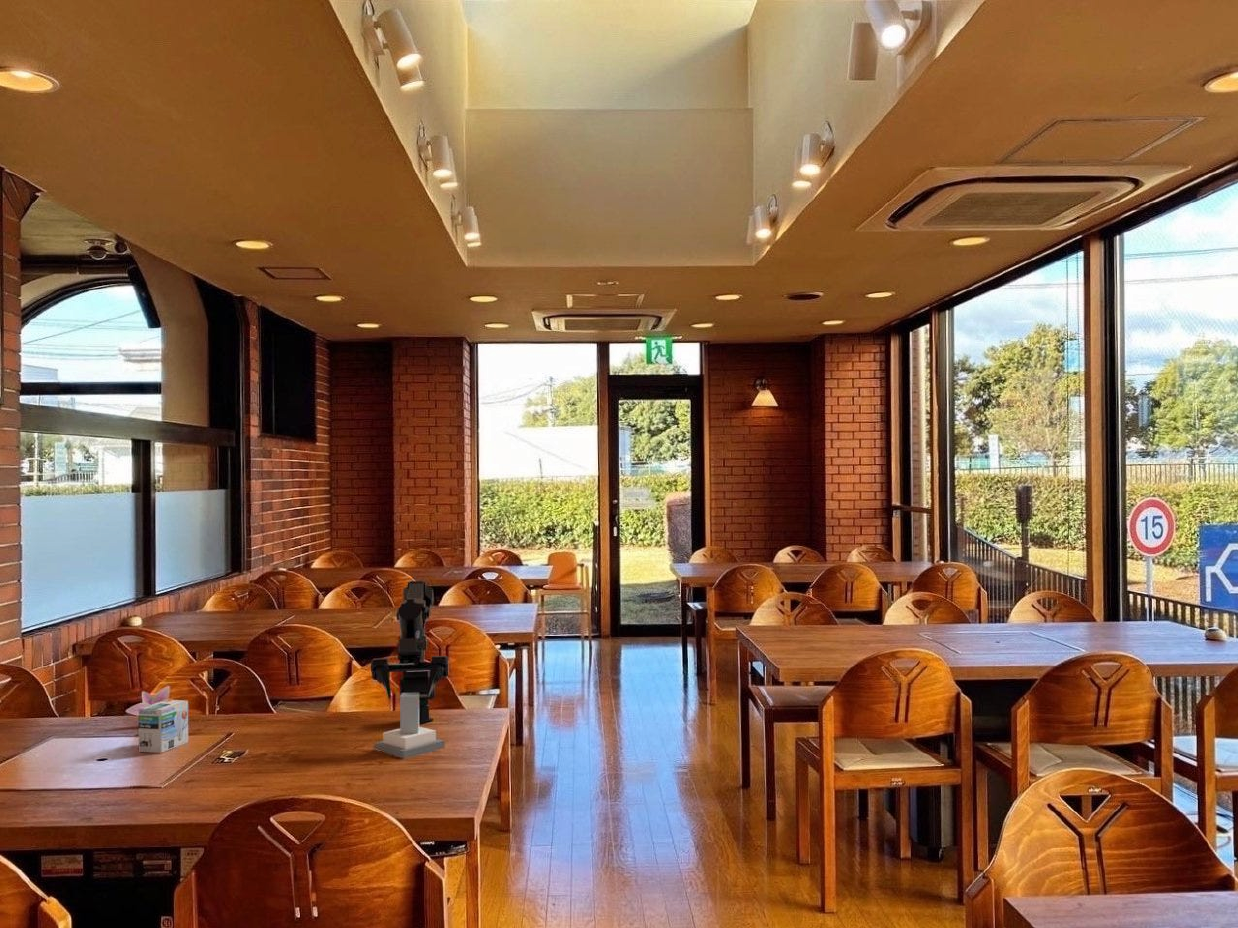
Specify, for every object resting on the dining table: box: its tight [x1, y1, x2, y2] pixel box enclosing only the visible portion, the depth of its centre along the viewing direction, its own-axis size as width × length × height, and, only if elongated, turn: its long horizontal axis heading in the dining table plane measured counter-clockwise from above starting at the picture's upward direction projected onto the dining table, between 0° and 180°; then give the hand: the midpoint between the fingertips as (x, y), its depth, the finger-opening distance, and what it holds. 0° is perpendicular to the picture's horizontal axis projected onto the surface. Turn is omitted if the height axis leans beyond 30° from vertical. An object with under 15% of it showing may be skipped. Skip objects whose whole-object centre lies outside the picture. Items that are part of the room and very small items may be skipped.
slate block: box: [399, 692, 420, 734], centre depth 233 cm, size 4×4×9 cm
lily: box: [125, 685, 171, 717], centre depth 262 cm, size 12×12×10 cm
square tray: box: [373, 737, 446, 760], centre depth 234 cm, size 12×12×2 cm
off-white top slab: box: [382, 726, 437, 749], centre depth 233 cm, size 9×9×2 cm
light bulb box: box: [138, 699, 189, 754], centre depth 239 cm, size 11×7×11 cm, turn 168°
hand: (408, 696), depth 232 cm, fingers open, 9 cm apart
